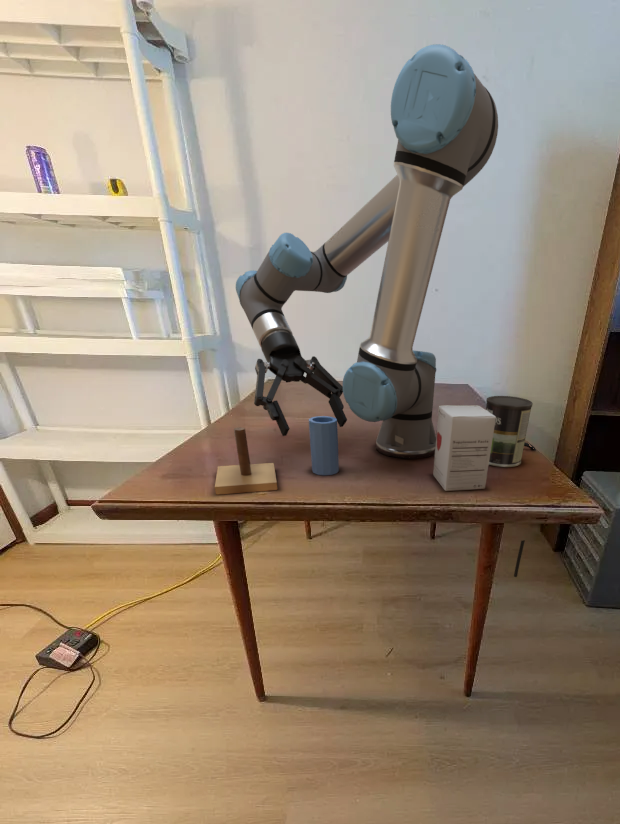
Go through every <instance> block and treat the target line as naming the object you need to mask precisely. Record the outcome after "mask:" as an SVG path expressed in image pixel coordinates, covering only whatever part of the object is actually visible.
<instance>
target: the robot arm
mask: <svg viewBox="0 0 620 824" xmlns="http://www.w3.org/2000/svg"><path fill="white" fill-rule="evenodd" d="M472 67H473V66H471V64H470V62H469V60H467V59H466V58H465V57H464V56H463V55H461V54H459V53H458V52H457V51H456V50H455V49H454V48H452V47H450V46H448V45H446V44H440V43H434V44H430V45H426V46H424V47H422V48H420V49H419V50H417V51H416V53H414V55H413V56H412V57H411V58H409V59H408V60H407V61H406V62H405V64H404V65H403V66H402V68H401V70H400V72H399V73H398V75H397V77H396V81H395V83H394V86H393V89H392V93H391V100H390V119H391V124H392V126H393V132H394V133H395V137H396V139H397V144H396V149H395V155H394V160H393V167H394V170H395V172H396V175H395V176H394V177H393V178H392V179H390V180H389V182H387V184H385V185H384V186H383V187H382V188H381V189H380V190H379V191H378V192H377V193H376V194H375V195H374V196H373V197H371V199H370V200H369V201H367V202H366V204H364V205H363V206H362V207H361V208H360V209H359V210H358V211H357V212H356V213H355V214H354V215H353V216H352V217H350V218H349V219H348V220H347V221H346V222H345V223H344V224H343V225H342V226H341V227H340V228H339V229H338V230H337V231H336V232H335V233H334V234H332V236H330V237H329V238H328V239H327V241H326V242H324V243H323V244H322V245H321V246H320V247H318V249H316V250H314V251H312V250H310V248H309V247H308V245H307V244H306V243H305V242H304V241H303V240H302V239H301V238H300V237H298V236H295V235H294V234H293V233H290V232H283V233H281V234H280V235H279V236H278V238H277V239H276V240H275V242H274V243H273V244H271V247H270V248H269V250H268V252H267V254H266V255H265V257H264V259H263V261H262V263H261V264H260V266H259V267H258V269H257V270H254V269H253V270H247V271H245V272H244V274H242V275H239V276H238V278H237V279H236V281H235V292H236V295H237V298H238V300H239V304H240V306H241V308H242V310H243V311H244V313H245V315H246V318H247V320H248V322H249V325H250V326H251V329H252V332H253V333H254V336H255V338H256V340H257V343H258V345H259V346H260V348H261V351H262V354H263V356H264V358H265V361H264V360H263V359H262V358H257V360H256V363H255V367H254V370H255V373H256V384H255V390H254V391H255V392H254V399H253V400H254V401H253V405H255V407H260V406H262V408H263V409H264V410H265V411H267V413H268V415H269V418H270V420H271V421H275V422H276V424H277V426H278V429H279V431H280V433H281V435H282V437H286V436H288V433H289V431H290V430H291V429H290V427H289V424H288V422H287V420H286V417H285V415H284V412H283V410H282V409H281V406H280V404H279V401H278V400H277V399H276V400H274V398H275V396H276V394H277V391H278V390H279V387H280V385H281V382H282V381H283V382H285V383H291V382H302V383H303V384H307V385H309V386H311V387H312V388H314V390H316V391H318V392H319V393H321V394H322V395H323V396H325V397H326V398H328V399H329V400H328V404H329V406H330V409H331V410H332V413H333V415H334V418H336V419H337V425H338V426H339V428H343V427H344V426H345V425H346V423H347V421H348V418H347V416H346V414H345V411H344V408H345V407H344V404H343V401H342V398H341V396H342V395H343V397H344V400H345V402H346V404H347V405H348V406H349V409H350V411H351V412H352V413H353V414H354V415H355V416H357V417H358V418H359V419H361V420H363V421H366V422H369V423H377V422H381V426H380V428H379V431H378V434H377V438H376V440H375V441H376V442H375V444H376V446H375V447H376V450H377V452H379V453H381V454H382V455H385V456H388V457H391V458H397V459H410V460H411V459H413V460H414V459H423V458H428V457H431V456H434V455H435V447H436V431H435V427H434V423H433V408H434V395H435V384H436V372H437V358H436V355H435V354H434V353H433V352H429V351H423V350H422V351H421V350H415V349H414V350H413V347H414V342H415V339H416V335H417V332H418V327H419V323H420V319H421V316H422V312H423V307H424V304H425V300H426V296H427V292H428V288H429V284H430V281H431V277H432V273H433V270H434V269H433V268H434V266H435V261H436V256H437V253H438V251H439V250H438V249H439V245H440V241H441V238H442V235H443V229H444V225H445V222H446V218H447V214H448V209H449V208H450V207H449V206H450V203H451V199H452V198H453V197H454V196H455V195H457V194H458V193H459V192H461V191H462V190H463V188H464V187H465V186H466V185H467V184H469V183H470V182H471V181H472V180H473V179H474V178H475V177H476V176H477V175H478V174H479V173H481V170H483V169H484V167H485V166H486V165H487V163H488V162H489V159H490V158H491V156H492V154H493V152H494V150H495V146H496V143H497V138H498V133H499V115H498V110H497V109H498V108H497V105H496V102H495V100H494V98H493V96H492V94H491V93H490V91H489V90H488V89H487V88H486V87H485V86H484V85H483V83H482V81H481V80H480V79H479V78H478V76H477V75H476V74H475V72H474V70H473V68H472ZM386 244H387V246H386V252H385V257H384V262H383V267H382V272H381V276H380V283H379V288H378V293H377V297H376V302H375V308H374V313H373V317H372V323H371V328H370V333H369V336H368V338H366V339H364V340H363V341H361V342H360V344H359V348H358V353H357V359H356V362H355V363H353V364H352V365H350V367H349V368H347V370H346V371H345V373H344V375H343V378H342V379H343V380H342V384H341V383H340V382H339V381H338V380H337V379H336V378H335V377H334V376H333V375H332V374H331V373H330V372H329V371H328V370H327V369H326V368H325V367H324V366H323V365H322V364H321V363H320V361H319V359H318V358H317V357H316V356H311V358H310V359H305V358H304V357H303V356H302V353H301V350H300V346H299V345H298V342H297V339H296V338H295V336H294V333H293V331H292V329H291V327H290V325H289V323H288V321H287V319H286V316H285V314H284V312H283V306H284V305H285V304H286V303H287V302H288V300H289V299H290V298H291V296H292V295H293V293H294V292H295V291H296V292H297V291H298V292H315V293H316V292H318V293H324V294H332V293H336V292H339V291H340V290H341V291H342V289H343V288H344V287H345V285H346V282H347V279H348V276H349V275H350V274H351V273H352V272H354V271H355V270H356V269H357V268H358V267H359V266H361V265H362V264H364V262H365V261H367V260H368V259H369V258H370V257H371V256H372V255H374V254H375V253H376V252H378V251H379V250H380V249H382V248H383V246H385V245H386ZM268 370H269V372H271V373H272V374H274V375H275V378H274V380H273V382H272V383H271V386H270V389H269V390H268V393H267V395H266V396H264V389H265V388H264V387H265V382H266V381H265V380H266V379H265V378H266V374H267V372H268ZM305 374H306V375H305ZM528 443H529V442H525V443H524V447H526V448H529V449H530V451H534V452H536V451H537V449H536V447H535V446H534V445H533V444H531V443H529V444H530V445H531V446H532V447H530V446H529V444H528ZM533 448H534V449H533ZM525 541H526V540H524V539H523V540H520V546H519V549H518V553H517V558H516V563H515V567H514V574H513V577H514V578H517V577H518V574H519V569H520V564H521V559H522V555H523V550H524V546H525Z"/></svg>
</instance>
